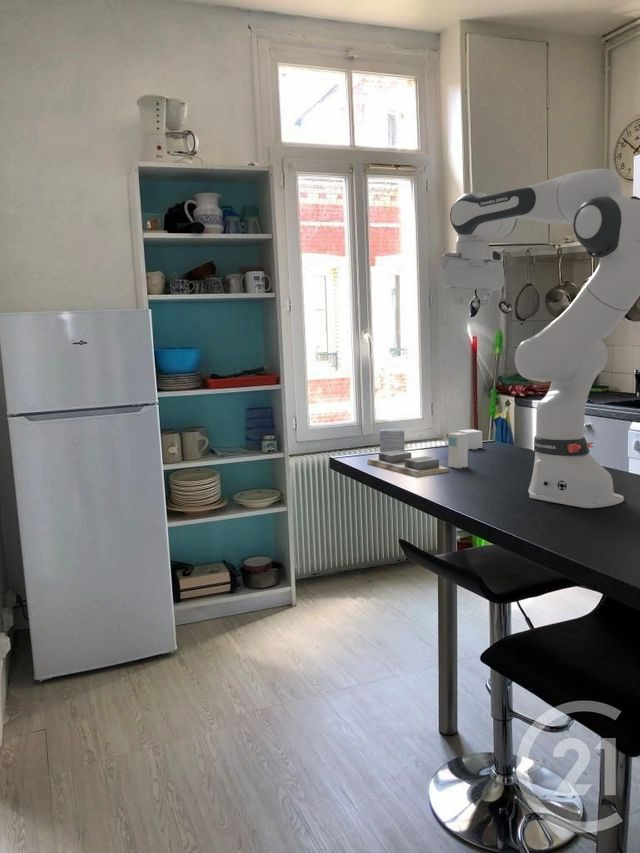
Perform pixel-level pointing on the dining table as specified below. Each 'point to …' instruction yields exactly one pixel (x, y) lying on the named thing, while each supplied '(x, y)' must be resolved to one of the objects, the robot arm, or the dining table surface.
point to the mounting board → (408, 463)
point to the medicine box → (391, 440)
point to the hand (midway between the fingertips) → (471, 305)
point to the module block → (457, 450)
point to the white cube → (473, 438)
